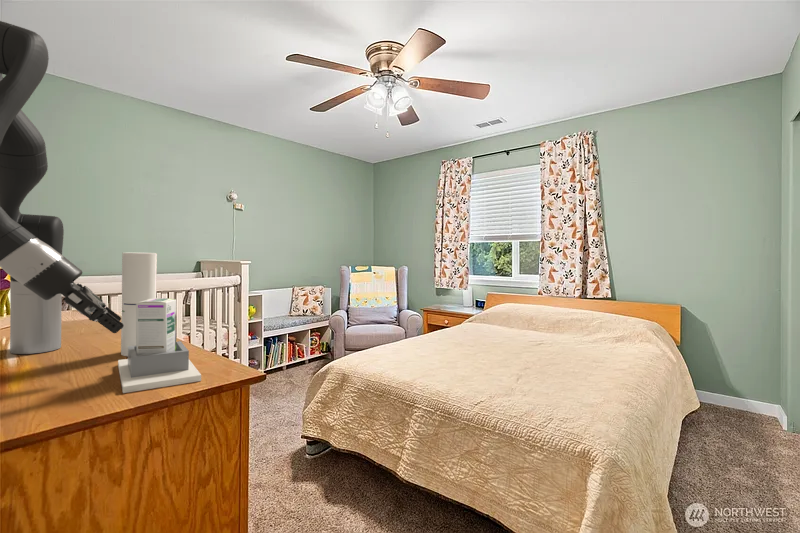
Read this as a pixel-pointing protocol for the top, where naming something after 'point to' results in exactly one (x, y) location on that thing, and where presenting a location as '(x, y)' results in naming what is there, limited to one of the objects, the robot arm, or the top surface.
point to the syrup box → (155, 326)
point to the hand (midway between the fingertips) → (118, 325)
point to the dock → (156, 369)
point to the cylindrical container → (135, 291)
